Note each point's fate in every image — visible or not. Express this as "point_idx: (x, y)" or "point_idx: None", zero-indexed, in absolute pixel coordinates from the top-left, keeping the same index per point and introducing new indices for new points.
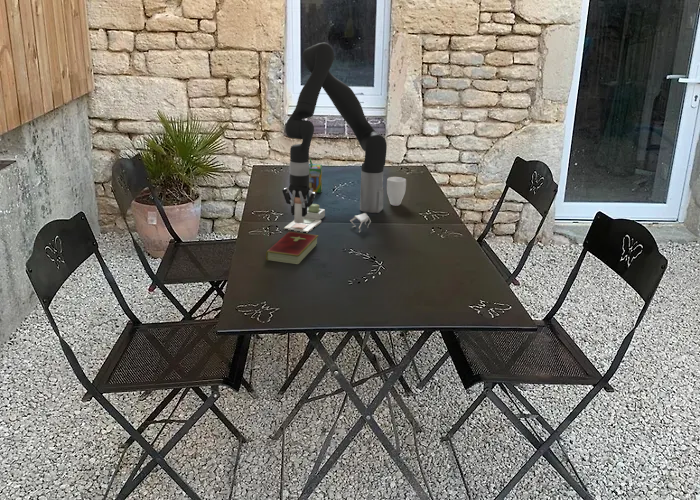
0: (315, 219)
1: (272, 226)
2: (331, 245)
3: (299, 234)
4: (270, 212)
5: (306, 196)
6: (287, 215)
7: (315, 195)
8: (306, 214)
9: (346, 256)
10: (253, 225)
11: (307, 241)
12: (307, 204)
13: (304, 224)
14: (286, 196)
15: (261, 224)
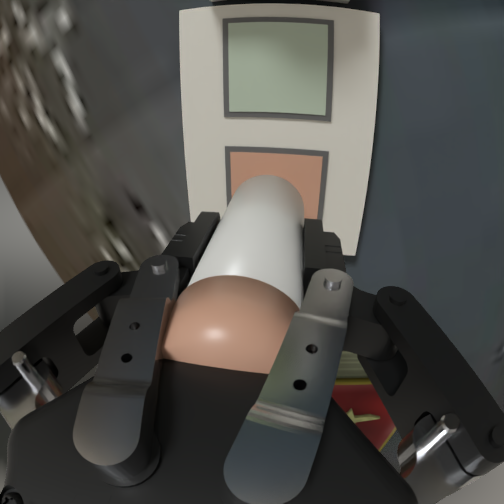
0: (327, 6)
1: (120, 216)
2: (469, 338)
3: (345, 393)
4: (16, 36)
5: (337, 368)
6: (96, 6)
7: (494, 410)
8: (333, 238)
9: (494, 381)
10: (56, 236)
11: (387, 421)
12: (367, 363)
13: (292, 141)
14: (79, 372)
15: (68, 211)
